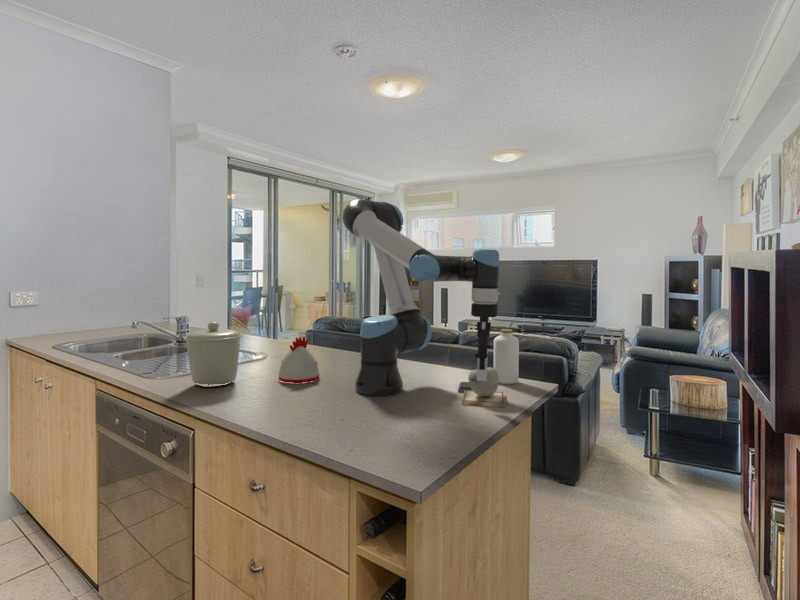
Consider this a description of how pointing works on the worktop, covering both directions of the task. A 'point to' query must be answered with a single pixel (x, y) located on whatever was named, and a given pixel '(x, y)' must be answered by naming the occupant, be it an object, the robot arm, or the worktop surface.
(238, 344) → the canister
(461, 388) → the ink pad
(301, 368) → the grey knit hat
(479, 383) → the decorative object
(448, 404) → the worktop surface
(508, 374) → the potion bottle
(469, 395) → the board
